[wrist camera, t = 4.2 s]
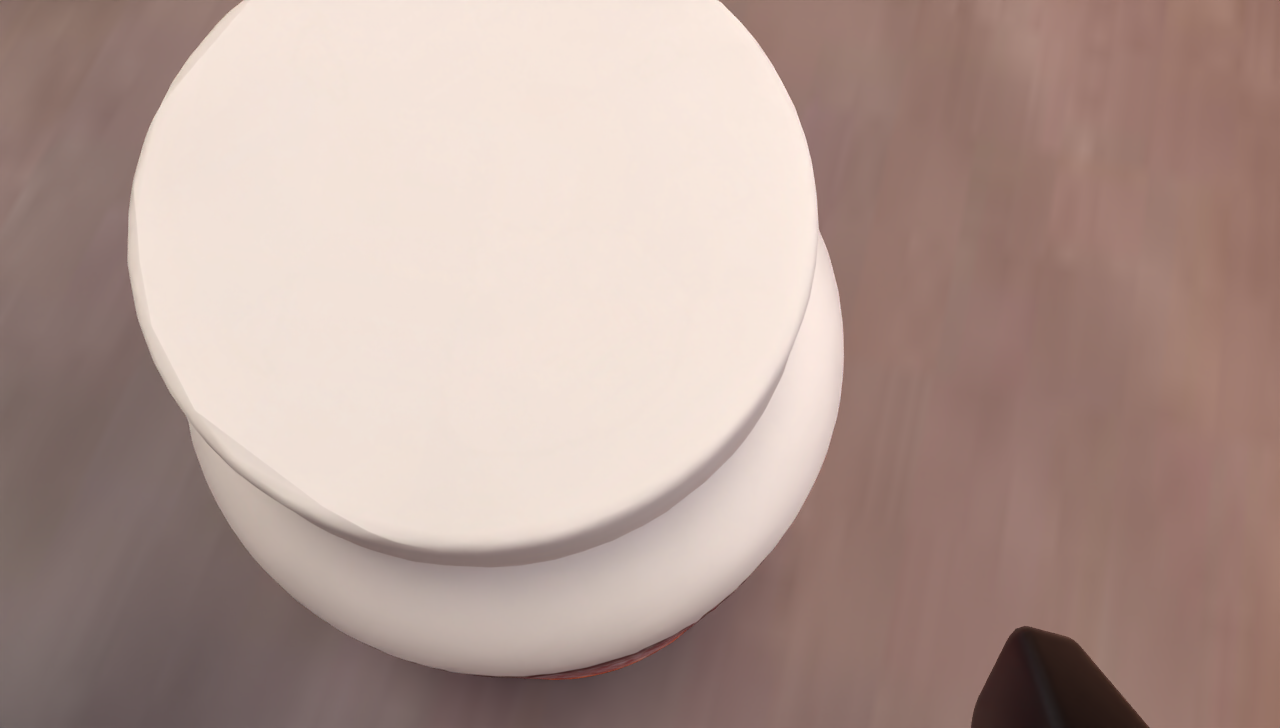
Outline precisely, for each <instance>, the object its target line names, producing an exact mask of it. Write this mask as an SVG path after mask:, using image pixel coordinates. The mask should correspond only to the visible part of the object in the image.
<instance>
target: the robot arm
mask: <svg viewBox="0 0 1280 728" xmlns="http://www.w3.org/2000/svg"><path fill="white" fill-rule="evenodd" d="M971 728H1149V727H1148V725H1147V724H1146V723H1145V722H1144V721H1143V719H1142V718H1141V717H1140V716H1139V715H1138V714H1137V712H1136V711H1135V710H1134V709H1133V708H1132V707H1131V705H1130V704H1129V703H1128V702H1127V701H1126V699H1125V698H1124V697H1123V696H1122V695H1121V694H1120V692H1119V691H1118V690H1117V689H1116V688H1115V687H1114V685H1113V684H1112V683H1111V682H1110V681H1109V680H1108V678H1107V677H1106V676H1105V675H1104V674H1103V672H1102V671H1101V670H1100V669H1099V668H1098V667H1097V665H1096V664H1095V663H1094V662H1093V661H1092V660H1091V658H1090V657H1089V656H1088V655H1087V654H1086V652H1085V651H1084V650H1083V649H1082V648H1081V647H1080V646H1079V645H1078V644H1077V643H1076V642H1075V641H1074V640H1072V639H1071V638H1069V637H1066V636H1062V635H1059V634H1055V633H1051V632H1047V631H1043V630H1040V629H1036V628H1032V627H1028V626H1023V627H1020V628H1017V629H1016V630H1015V631H1014V632H1013V633H1012V634H1011V635H1010V636H1009V638H1008V640H1007V641H1006V643H1005V645H1004V647H1003V649H1002V651H1001V653H1000V655H999V657H998V659H997V661H996V663H995V665H994V667H993V669H992V671H991V673H990V675H989V677H988V679H987V681H986V683H985V685H984V687H983V689H982V691H981V693H980V695H979V697H978V700H977V702H976V705H975V708H974V713H973V717H972V724H971Z"/></svg>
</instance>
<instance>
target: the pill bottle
mask: <svg viewBox="0 0 1280 728" xmlns="http://www.w3.org/2000/svg"><path fill="white" fill-rule="evenodd" d="M127 263H128V269H129V275H130V281H131V287H132V292H133V298H134V303H135V308H136V313H137V318H138V321H139V324H140V326H141V329H142V332H143V335H144V337H145V340H146V343H147V346H148V348H149V351H150V354H151V357H152V359H153V362H154V364H155V365H156V367H157V369H158V371H159V373H160V375H161V377H162V379H163V381H164V383H165V384H166V386H167V388H168V390H169V392H170V393H171V395H172V396H173V398H174V399H175V401H176V402H177V404H178V405H179V407H180V408H181V410H182V411H183V413H184V414H185V416H186V417H187V419H188V423H189V428H190V433H191V438H192V444H193V447H194V450H195V452H196V455H197V458H198V460H199V463H200V466H201V469H202V471H203V474H204V477H205V480H206V482H207V484H208V486H209V488H210V490H211V492H212V494H213V497H214V499H215V501H216V503H217V505H218V506H219V508H220V510H221V512H222V513H223V515H224V517H225V518H226V520H227V522H228V523H229V525H230V527H231V528H232V530H233V531H234V532H235V534H236V535H237V537H238V538H239V540H240V541H241V542H242V544H243V545H244V547H245V548H246V549H247V551H248V552H249V553H250V554H251V556H252V557H253V558H254V559H255V560H256V562H257V563H258V564H259V565H260V566H261V567H262V568H263V569H264V570H265V571H266V573H268V574H269V575H270V576H271V577H272V578H273V579H274V580H275V581H276V582H277V583H278V584H279V585H280V586H281V587H282V588H283V589H284V590H285V591H287V592H288V593H289V594H290V595H291V596H292V597H293V598H294V599H295V600H296V601H298V602H299V603H300V604H302V605H303V606H304V607H306V608H307V609H309V610H310V611H311V612H313V613H314V614H315V615H317V616H318V617H320V618H321V619H323V620H324V621H326V622H327V623H329V624H330V625H332V626H333V627H335V628H336V629H338V630H340V631H341V632H343V633H344V634H346V635H348V636H350V637H352V638H354V639H356V640H358V641H360V642H362V643H365V644H367V645H370V646H372V647H374V648H376V649H378V650H381V651H383V652H385V653H387V654H389V655H391V656H395V657H398V658H401V659H404V660H407V661H410V662H414V663H417V664H421V665H424V666H428V667H433V668H437V669H441V670H444V671H449V672H454V673H464V674H472V675H480V676H487V677H511V678H523V679H528V678H532V679H552V680H559V679H575V678H583V677H589V676H594V675H598V674H603V673H607V672H610V671H614V670H617V669H620V668H623V667H625V666H628V665H630V664H633V663H635V662H637V661H639V660H641V659H643V658H645V657H647V656H649V655H651V654H653V653H655V652H657V651H658V650H660V649H662V648H663V647H665V646H666V645H668V644H670V643H671V642H673V641H674V640H675V639H677V638H678V637H679V636H680V635H682V634H683V633H684V632H685V631H686V630H688V629H689V628H690V627H692V626H693V625H694V624H696V623H697V622H698V621H699V620H700V619H702V618H703V617H704V616H705V615H706V614H708V613H709V612H710V611H712V610H714V609H715V608H716V607H717V606H718V605H719V604H720V603H721V602H723V601H724V600H725V599H726V598H728V597H729V596H730V595H731V594H732V593H733V592H734V591H735V590H736V589H737V588H738V587H739V586H740V585H741V584H742V583H743V582H744V581H745V580H746V579H747V578H748V577H749V576H750V575H751V574H752V573H753V572H754V570H755V569H756V568H757V567H758V566H759V565H760V564H761V563H762V562H763V561H764V559H765V558H766V557H767V556H768V555H769V553H770V552H771V551H772V550H773V549H774V548H775V546H776V545H777V543H778V542H779V541H780V539H781V538H782V537H783V535H784V534H785V532H786V531H787V530H788V528H789V527H790V525H791V524H792V523H793V521H794V520H795V518H796V516H797V514H798V513H799V511H800V509H801V507H802V505H803V503H804V502H805V500H806V498H807V496H808V494H809V492H810V490H811V488H812V486H813V484H814V482H815V480H816V478H817V476H818V474H819V471H820V469H821V466H822V464H823V461H824V459H825V456H826V454H827V451H828V447H829V444H830V440H831V437H832V433H833V430H834V426H835V422H836V419H837V415H838V409H839V404H840V398H841V389H842V380H843V365H844V342H843V322H842V314H841V306H840V299H839V292H838V288H837V284H836V280H835V276H834V272H833V268H832V264H831V261H830V257H829V254H828V251H827V248H826V246H825V243H824V241H823V238H822V236H821V234H820V231H819V226H818V210H817V194H816V187H815V180H814V174H813V167H812V161H811V157H810V153H809V149H808V145H807V141H806V138H805V135H804V132H803V129H802V127H801V124H800V121H799V118H798V115H797V112H796V109H795V107H794V105H793V103H792V101H791V99H790V97H789V95H788V93H787V91H786V89H785V87H784V85H783V83H782V81H781V79H780V78H779V76H778V74H777V72H776V71H775V69H774V67H773V65H772V63H771V62H770V60H769V59H768V57H767V56H766V54H765V53H764V51H763V50H762V48H761V47H760V45H759V44H758V43H757V41H756V40H755V39H754V38H753V36H752V35H751V34H750V33H749V32H748V30H747V29H746V28H745V27H744V26H743V24H742V23H741V22H740V21H739V20H738V19H737V18H736V17H735V16H734V15H733V14H732V13H731V12H730V11H729V10H728V9H727V8H726V7H725V6H724V5H723V4H722V3H721V2H720V1H718V0H243V1H242V2H241V3H239V4H238V5H237V6H236V7H235V8H233V9H232V10H231V11H230V12H228V13H227V14H226V15H225V16H224V17H223V18H222V19H221V20H220V21H219V23H218V24H217V25H216V26H215V27H214V28H213V29H212V30H211V32H210V33H209V34H208V35H207V36H206V38H205V39H204V40H203V41H202V42H201V44H200V45H199V46H198V47H197V48H196V50H195V51H194V52H193V53H192V54H191V56H190V57H189V58H188V60H187V61H186V63H185V64H184V66H183V67H182V69H181V70H180V72H179V73H178V75H177V76H176V78H175V79H174V81H173V82H172V84H171V86H170V88H169V90H168V92H167V94H166V96H165V98H164V100H163V102H162V104H161V106H160V108H159V110H158V111H157V113H156V115H155V117H154V119H153V121H152V122H151V124H150V127H149V130H148V132H147V135H146V138H145V141H144V143H143V147H142V151H141V154H140V158H139V161H138V165H137V168H136V172H135V176H134V179H133V185H132V192H131V199H130V205H129V213H128V258H127Z"/></svg>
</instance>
